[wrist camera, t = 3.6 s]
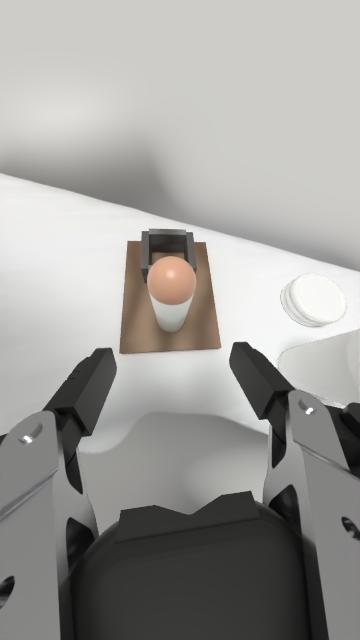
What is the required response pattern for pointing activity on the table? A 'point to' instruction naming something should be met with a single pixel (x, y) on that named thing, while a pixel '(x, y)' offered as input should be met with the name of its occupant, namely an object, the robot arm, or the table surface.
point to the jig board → (137, 305)
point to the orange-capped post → (171, 291)
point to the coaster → (313, 300)
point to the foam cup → (326, 367)
